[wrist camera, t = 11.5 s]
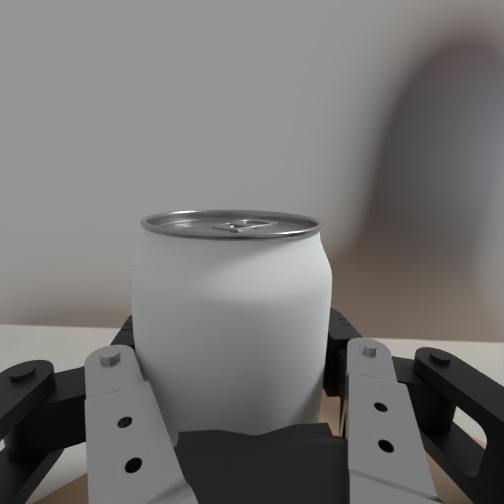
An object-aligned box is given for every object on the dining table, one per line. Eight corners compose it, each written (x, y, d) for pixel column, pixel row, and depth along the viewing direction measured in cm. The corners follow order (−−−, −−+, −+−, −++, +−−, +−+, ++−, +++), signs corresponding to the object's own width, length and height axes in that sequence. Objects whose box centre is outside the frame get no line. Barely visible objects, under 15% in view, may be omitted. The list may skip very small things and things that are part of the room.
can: (115, 520, 11) (79, 217, 8) (223, 415, 16) (224, 206, 13) (247, 686, 8) (262, 252, 5) (332, 485, 13) (364, 218, 10)
